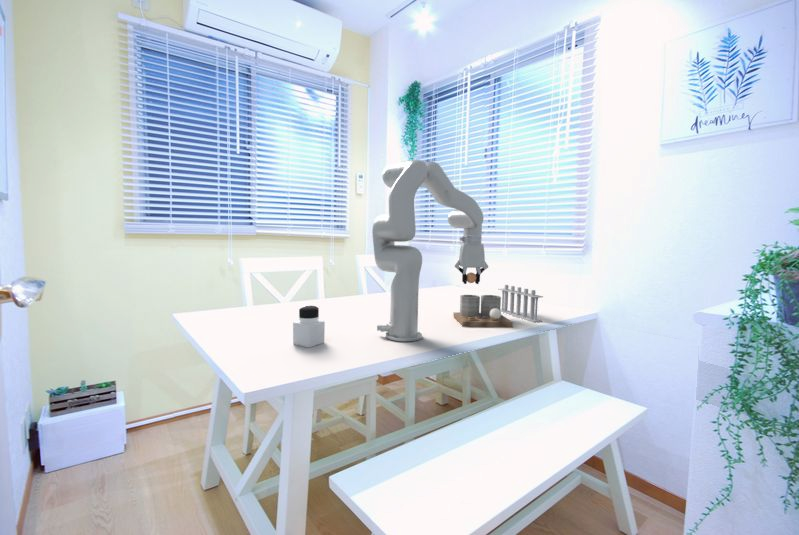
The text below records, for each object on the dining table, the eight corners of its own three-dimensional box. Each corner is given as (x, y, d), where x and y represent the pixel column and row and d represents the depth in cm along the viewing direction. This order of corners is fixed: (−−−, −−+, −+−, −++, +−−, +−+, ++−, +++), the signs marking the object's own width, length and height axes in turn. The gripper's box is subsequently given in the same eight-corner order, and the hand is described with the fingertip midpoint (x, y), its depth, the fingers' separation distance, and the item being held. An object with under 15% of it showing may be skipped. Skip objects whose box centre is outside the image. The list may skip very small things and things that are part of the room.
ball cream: (491, 320, 149) (491, 309, 148) (487, 318, 153) (488, 307, 153) (502, 320, 149) (502, 309, 148) (498, 318, 153) (499, 307, 153)
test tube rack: (496, 311, 180) (497, 284, 178) (504, 311, 181) (505, 283, 180) (533, 323, 157) (535, 291, 155) (542, 322, 158) (543, 291, 157)
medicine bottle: (324, 342, 122) (325, 306, 121) (309, 348, 116) (309, 309, 115) (308, 339, 125) (308, 303, 124) (292, 344, 119) (292, 306, 118)
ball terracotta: (466, 283, 157) (467, 272, 156) (464, 282, 161) (464, 271, 161) (477, 283, 157) (477, 273, 157) (474, 282, 161) (475, 272, 161)
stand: (462, 326, 147) (463, 301, 146) (453, 316, 165) (454, 294, 164) (512, 327, 148) (513, 302, 147) (498, 317, 166) (499, 294, 165)
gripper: (454, 240, 153) (452, 284, 155) (494, 240, 154) (493, 285, 156) (450, 240, 161) (449, 282, 162) (489, 240, 162) (488, 282, 163)
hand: (470, 283), depth 159 cm, fingers closed on ball terracotta, 4 cm apart
